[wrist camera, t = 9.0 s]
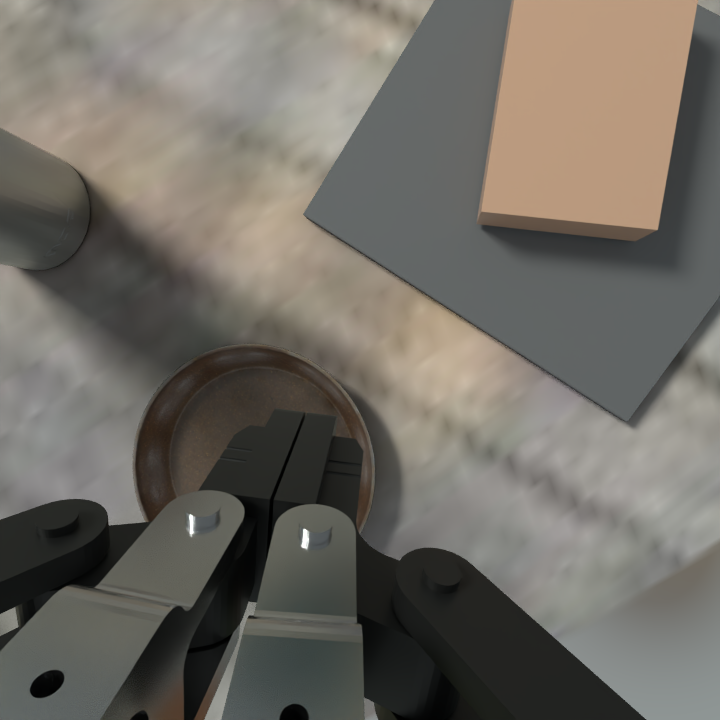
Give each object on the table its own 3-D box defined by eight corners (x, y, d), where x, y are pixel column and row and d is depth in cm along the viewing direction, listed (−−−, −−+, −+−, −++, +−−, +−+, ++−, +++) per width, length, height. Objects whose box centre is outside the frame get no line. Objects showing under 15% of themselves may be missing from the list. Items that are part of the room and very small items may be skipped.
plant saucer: (360, 327, 35) (353, 325, 32) (395, 566, 35) (392, 587, 32) (140, 361, 37) (115, 363, 34) (173, 583, 38) (151, 604, 35)
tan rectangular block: (657, 229, 27) (701, -21, 27) (481, 211, 29) (518, -27, 28) (632, 242, 31) (671, 20, 30) (475, 225, 32) (508, 13, 31)
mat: (306, 218, 35) (303, 214, 34) (495, -88, 32) (497, -102, 31) (621, 419, 32) (627, 421, 31) (853, 102, 30) (868, 94, 29)
